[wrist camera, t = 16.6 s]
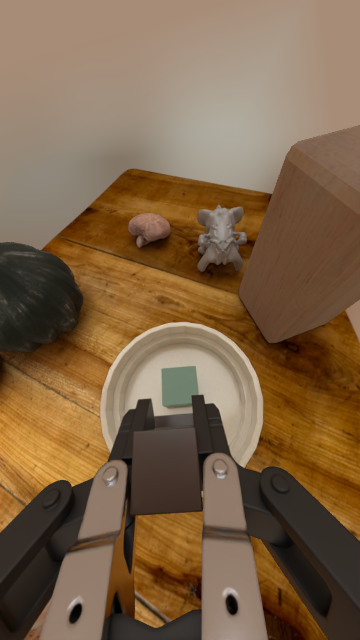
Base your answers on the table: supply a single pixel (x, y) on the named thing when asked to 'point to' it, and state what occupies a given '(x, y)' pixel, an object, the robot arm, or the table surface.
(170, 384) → the cube
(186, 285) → the table surface
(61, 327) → the squash
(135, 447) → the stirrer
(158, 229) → the pink brain model
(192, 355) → the bowl
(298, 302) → the block
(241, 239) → the elephant statuette
